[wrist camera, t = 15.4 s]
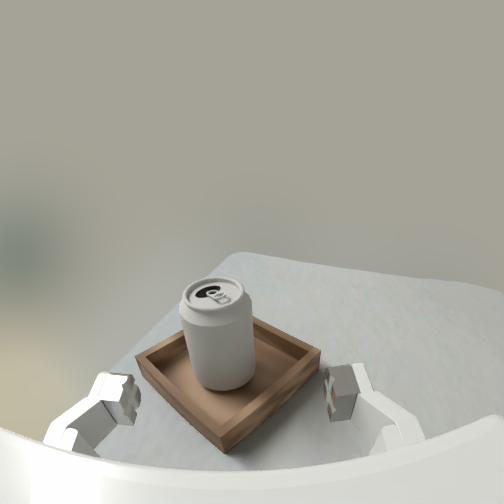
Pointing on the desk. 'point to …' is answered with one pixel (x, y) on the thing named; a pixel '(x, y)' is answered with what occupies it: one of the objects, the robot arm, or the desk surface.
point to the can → (219, 332)
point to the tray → (236, 400)
